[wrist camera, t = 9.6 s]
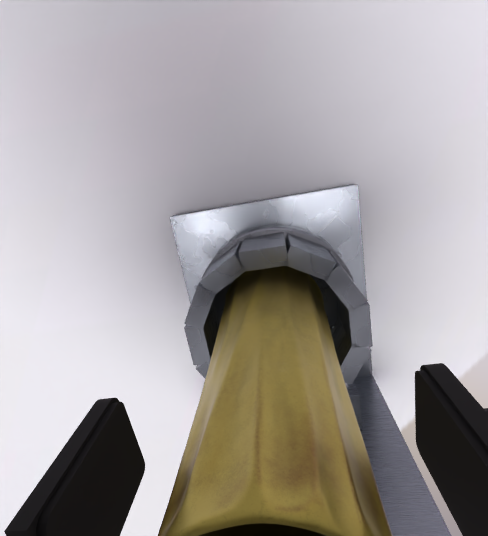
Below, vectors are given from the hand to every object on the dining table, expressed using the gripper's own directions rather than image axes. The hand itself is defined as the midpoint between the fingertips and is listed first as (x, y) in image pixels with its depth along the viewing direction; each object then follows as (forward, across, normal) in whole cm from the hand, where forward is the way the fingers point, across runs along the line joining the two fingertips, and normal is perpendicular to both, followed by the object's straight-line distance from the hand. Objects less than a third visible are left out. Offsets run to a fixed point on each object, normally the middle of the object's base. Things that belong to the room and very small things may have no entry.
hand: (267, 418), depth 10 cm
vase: (+10, 0, +1) cm, 10 cm away
